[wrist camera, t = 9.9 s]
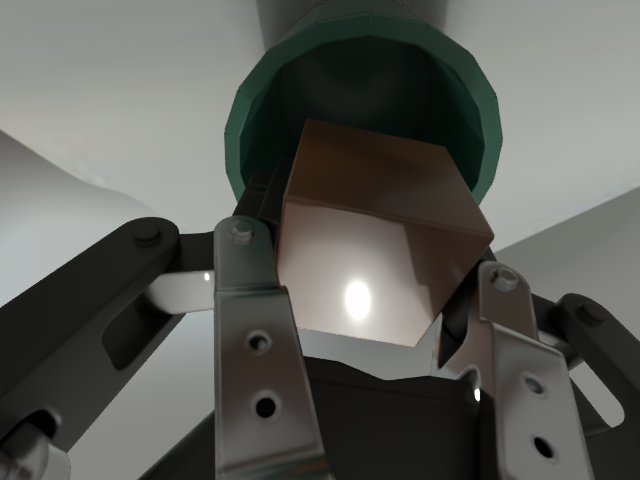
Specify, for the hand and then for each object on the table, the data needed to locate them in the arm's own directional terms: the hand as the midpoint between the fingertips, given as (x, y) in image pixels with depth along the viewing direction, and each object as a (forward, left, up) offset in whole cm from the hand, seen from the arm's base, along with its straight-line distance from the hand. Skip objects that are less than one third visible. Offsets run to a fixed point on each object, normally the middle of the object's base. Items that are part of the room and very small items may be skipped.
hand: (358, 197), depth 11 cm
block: (0, 0, 0) cm, 0 cm away
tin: (0, 0, -12) cm, 12 cm away
